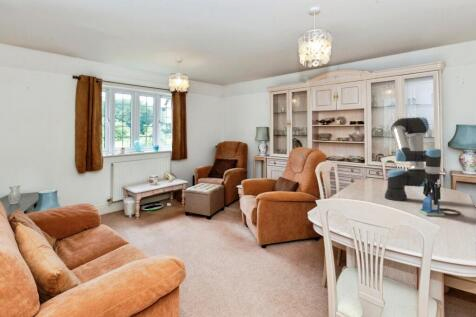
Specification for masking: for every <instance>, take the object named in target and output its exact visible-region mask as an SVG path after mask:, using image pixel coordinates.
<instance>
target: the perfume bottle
mask: <svg viewBox="0 0 476 317" xmlns="http://www.w3.org/2000/svg"><path fill="white" fill-rule="evenodd" d="M428 196H429V197H426V198H425V197H424V198H423V200H422V205H421V206H422V207H421V209H422V210H425V211H427V212H430V213H432V212H439V209H440V207H441V205H440V204H441V203H440V201H439V200H438V205H437V210H432V199H433V194H432V191H431V192H429V194H428Z"/></svg>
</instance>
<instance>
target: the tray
mask: <svg viewBox="0 0 476 317" xmlns="http://www.w3.org/2000/svg"><path fill="white" fill-rule="evenodd" d="M417 212H419V213H420V214H422V215H423V216H425V217H445V216H446V215H445V214H443V213H441V212H442V211H441V212H432V213H430V212H427V211H425V210H422V208H417Z"/></svg>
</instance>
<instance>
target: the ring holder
mask: <svg viewBox="0 0 476 317" xmlns="http://www.w3.org/2000/svg"><path fill="white" fill-rule="evenodd" d="M447 211H448V212H447ZM439 212H441V213H443V214H445V216H449V217H460V216H461V215H462V211H459V210H457V209H453V208H448V207H447V208H446V207H444V208H443V207H441V208H440V209H439Z"/></svg>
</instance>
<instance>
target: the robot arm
mask: <svg viewBox="0 0 476 317" xmlns="http://www.w3.org/2000/svg"><path fill="white" fill-rule="evenodd" d="M429 125H430V124H429V121H428V119H427V118H426V117H421V116H419V117H403V118H399V119H396V121H394V122H393V123H392V125H391V127H390V132H391V133H390V134H392V135H393V137H394V142H395V145H396V149H397V150H396V152H395V161H397V162H402V163H405V162H407V163H409V167H408V168H407V170H406V169H404V168H402V169H400V168H397V169H391V170H388V171H387V184H386V185H387V186H386V188H387V189H386V190H385V193H384V198H385V199H387V200H391V201H397V202H400V201H401V202H403V201H407V199H408V196H407V193H406V190H405V187H416V188H417V187H418V188H420V187H423V190H422V194H423V195H424V199H425V198H426V197H429V196H428V194H429V192H432V194H433V199H432V210H437V205H438V201H439V200H441V187H442V184H441V183H438V180H440V178H441V164H442V149H440V148H427V149H425V150H424V136H426V133H427V132H429V129H430V126H429ZM406 133H407V135H406ZM408 137H409V141H408ZM424 164H425V166H424Z"/></svg>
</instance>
